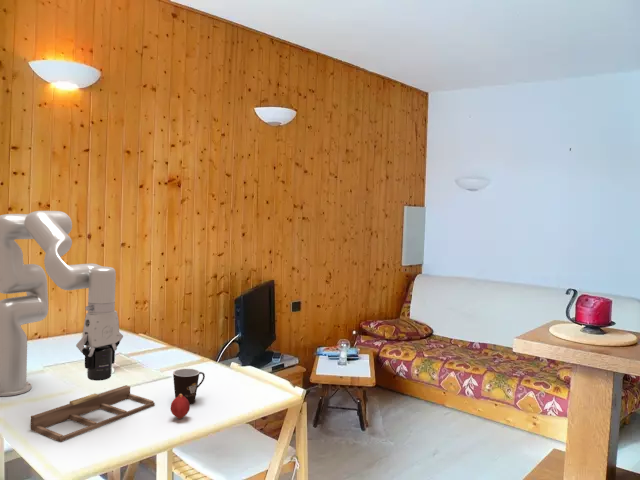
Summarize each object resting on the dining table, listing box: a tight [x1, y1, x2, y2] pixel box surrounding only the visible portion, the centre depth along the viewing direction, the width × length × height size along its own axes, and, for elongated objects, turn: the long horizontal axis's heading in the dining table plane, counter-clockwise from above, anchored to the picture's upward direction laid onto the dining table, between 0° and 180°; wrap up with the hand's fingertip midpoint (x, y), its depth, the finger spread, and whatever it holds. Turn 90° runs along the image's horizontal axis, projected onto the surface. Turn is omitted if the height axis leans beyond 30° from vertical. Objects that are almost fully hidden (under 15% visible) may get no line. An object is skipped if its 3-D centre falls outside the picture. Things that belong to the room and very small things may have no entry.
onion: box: [170, 394, 191, 420], centre depth 169 cm, size 6×6×8 cm
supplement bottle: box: [86, 345, 113, 382], centre depth 166 cm, size 7×7×12 cm
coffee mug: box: [172, 368, 206, 405], centre depth 184 cm, size 12×9×10 cm
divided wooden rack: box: [30, 384, 156, 443], centre depth 167 cm, size 14×34×5 cm, turn 151°
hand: (99, 365), depth 166 cm, fingers closed on supplement bottle, 6 cm apart
